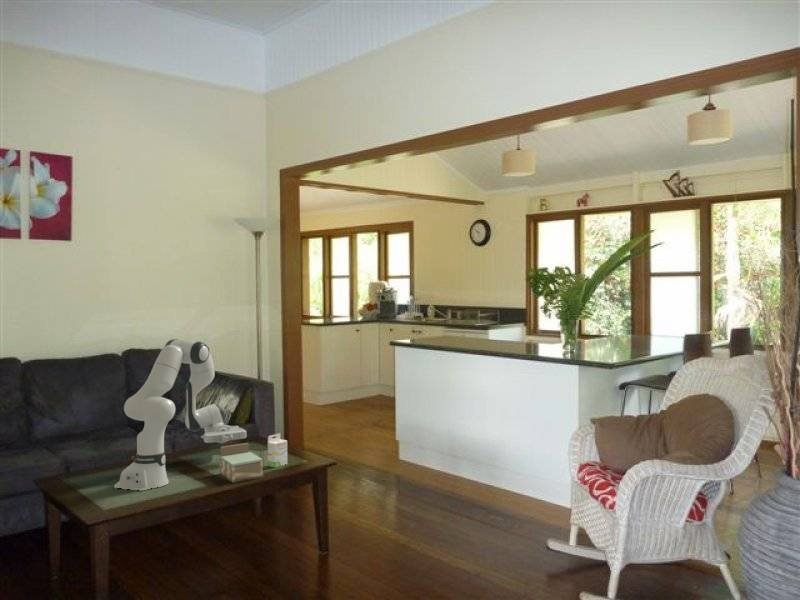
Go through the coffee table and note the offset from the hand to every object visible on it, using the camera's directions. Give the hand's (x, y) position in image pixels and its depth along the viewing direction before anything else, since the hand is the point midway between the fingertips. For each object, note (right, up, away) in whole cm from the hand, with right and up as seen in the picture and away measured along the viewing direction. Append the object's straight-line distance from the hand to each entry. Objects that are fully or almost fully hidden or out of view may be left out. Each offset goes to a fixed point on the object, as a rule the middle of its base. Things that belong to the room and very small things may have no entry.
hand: (230, 438), depth 311 cm
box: (+8, -14, -11) cm, 20 cm away
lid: (+8, -7, -11) cm, 15 cm away
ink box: (+22, -14, +4) cm, 26 cm away
